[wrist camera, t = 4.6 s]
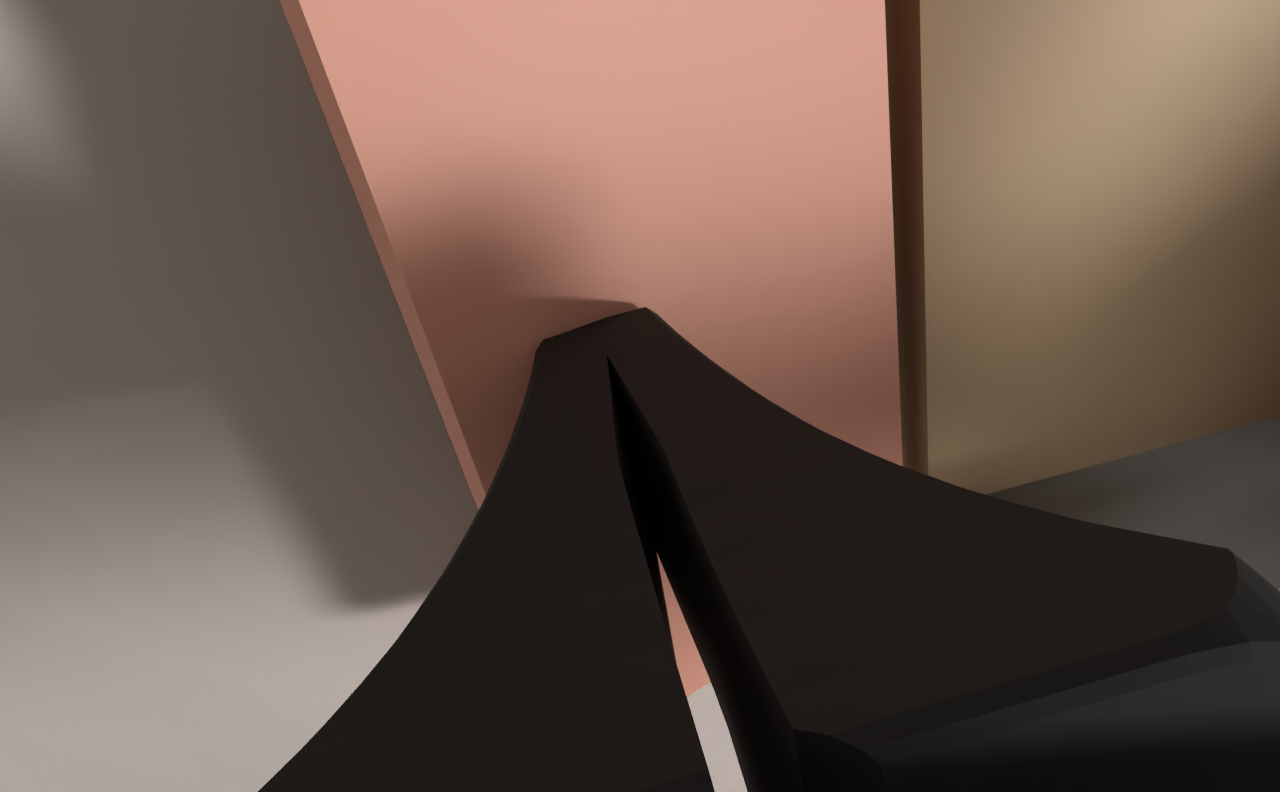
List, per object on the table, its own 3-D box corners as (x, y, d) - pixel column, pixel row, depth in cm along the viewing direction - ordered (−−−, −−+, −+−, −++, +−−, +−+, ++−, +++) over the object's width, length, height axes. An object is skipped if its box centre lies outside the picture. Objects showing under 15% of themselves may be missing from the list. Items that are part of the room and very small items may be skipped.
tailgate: (875, -249, 9) (265, -90, 7) (905, 552, 15) (586, 761, 13) (819, -240, 9) (244, -92, 7) (871, 527, 16) (561, 723, 14)
